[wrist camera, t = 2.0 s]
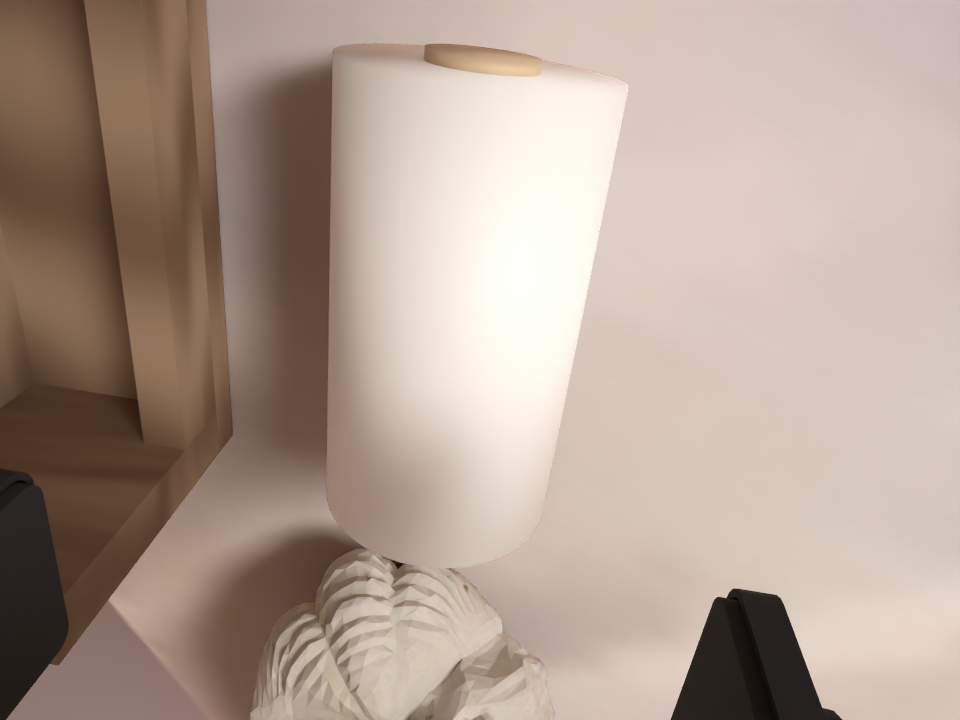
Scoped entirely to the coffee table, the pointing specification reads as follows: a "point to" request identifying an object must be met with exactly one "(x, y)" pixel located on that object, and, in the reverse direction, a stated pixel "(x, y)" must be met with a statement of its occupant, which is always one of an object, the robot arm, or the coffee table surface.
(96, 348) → the holder
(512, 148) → the roll
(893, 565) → the coffee table surface
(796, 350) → the coffee table surface
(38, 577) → the robot arm
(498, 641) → the fossil replica
